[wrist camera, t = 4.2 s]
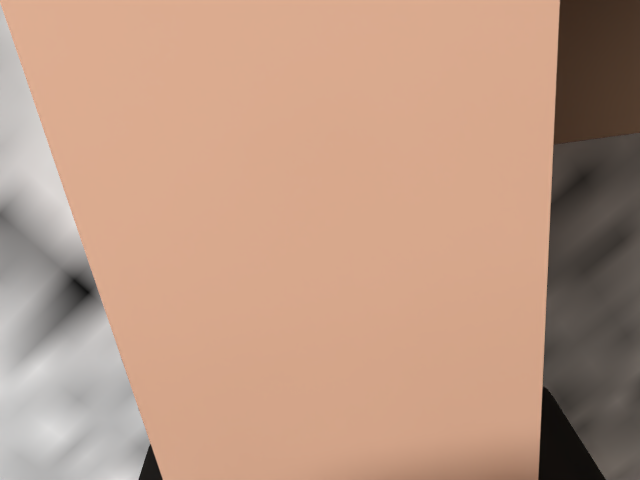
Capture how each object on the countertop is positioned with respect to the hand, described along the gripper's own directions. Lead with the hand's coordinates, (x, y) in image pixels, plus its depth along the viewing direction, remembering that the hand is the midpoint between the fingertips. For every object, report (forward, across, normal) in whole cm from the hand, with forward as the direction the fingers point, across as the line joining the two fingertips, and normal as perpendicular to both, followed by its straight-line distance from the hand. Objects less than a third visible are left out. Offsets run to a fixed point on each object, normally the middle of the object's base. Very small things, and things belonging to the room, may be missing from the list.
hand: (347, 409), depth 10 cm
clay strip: (+1, 0, 0) cm, 1 cm away
